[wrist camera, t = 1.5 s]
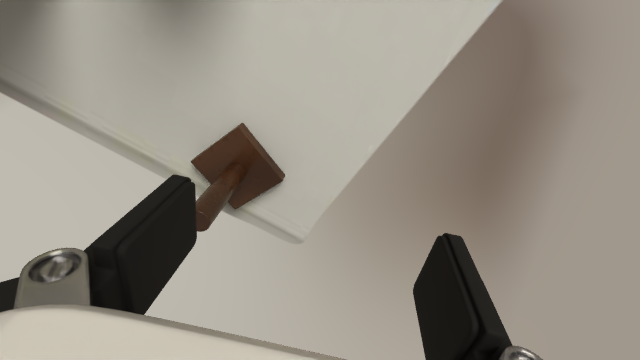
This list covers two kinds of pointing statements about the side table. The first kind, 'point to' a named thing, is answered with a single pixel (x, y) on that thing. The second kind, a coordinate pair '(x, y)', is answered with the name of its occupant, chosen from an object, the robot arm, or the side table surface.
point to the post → (233, 174)
